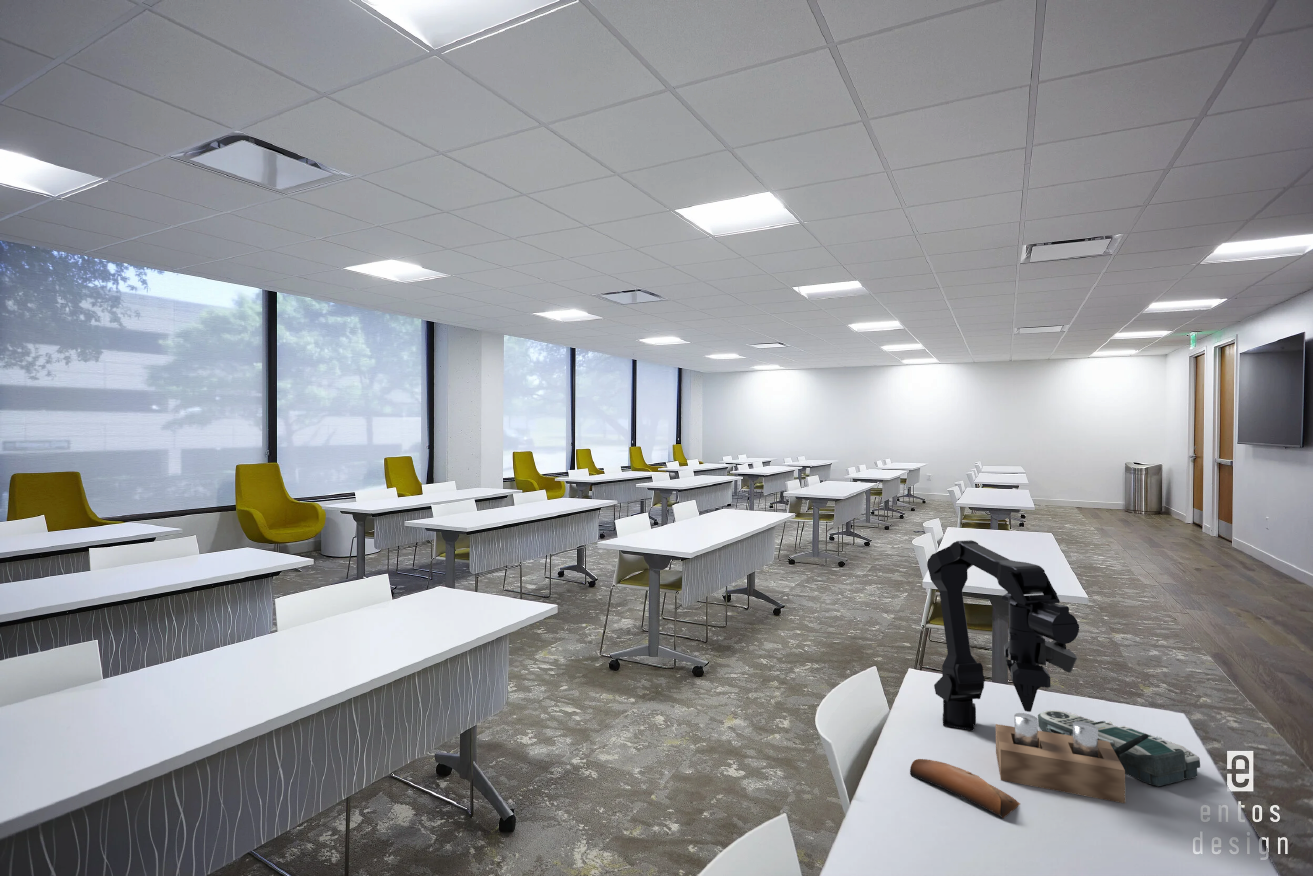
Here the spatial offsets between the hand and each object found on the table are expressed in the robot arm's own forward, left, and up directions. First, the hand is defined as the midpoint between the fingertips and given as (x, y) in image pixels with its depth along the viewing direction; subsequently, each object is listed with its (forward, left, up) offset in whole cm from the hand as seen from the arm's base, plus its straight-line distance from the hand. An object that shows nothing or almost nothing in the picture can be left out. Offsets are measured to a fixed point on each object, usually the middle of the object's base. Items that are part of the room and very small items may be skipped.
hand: (1025, 705), depth 127 cm
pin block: (+5, 0, -13) cm, 14 cm away
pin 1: (0, 0, -8) cm, 9 cm away
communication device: (+16, +16, -14) cm, 26 cm away
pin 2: (+10, 0, -8) cm, 13 cm away
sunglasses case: (-12, -13, -14) cm, 22 cm away
